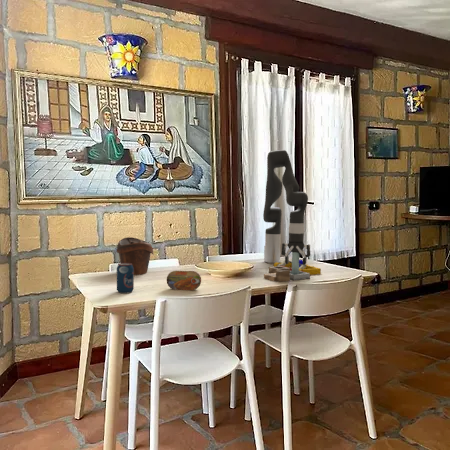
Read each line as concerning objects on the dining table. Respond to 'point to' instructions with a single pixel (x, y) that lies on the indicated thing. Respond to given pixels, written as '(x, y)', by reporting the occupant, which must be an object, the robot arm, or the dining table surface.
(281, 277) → the bench dog
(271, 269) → the socket block
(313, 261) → the dining table surface
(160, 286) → the dining table surface
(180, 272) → the tin
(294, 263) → the dowel
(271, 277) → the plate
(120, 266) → the soda can
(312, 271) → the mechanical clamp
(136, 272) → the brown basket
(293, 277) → the tray
